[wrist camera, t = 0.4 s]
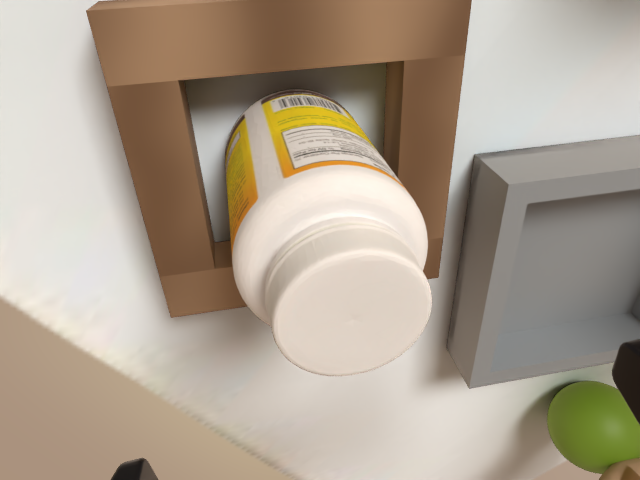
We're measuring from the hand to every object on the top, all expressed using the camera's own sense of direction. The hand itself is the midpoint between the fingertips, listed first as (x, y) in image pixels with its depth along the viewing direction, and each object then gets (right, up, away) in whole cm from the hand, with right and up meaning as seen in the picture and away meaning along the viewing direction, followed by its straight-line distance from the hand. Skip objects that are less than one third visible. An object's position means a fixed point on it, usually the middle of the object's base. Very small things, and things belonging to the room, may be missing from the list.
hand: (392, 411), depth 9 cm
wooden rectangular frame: (-2, +7, +11) cm, 13 cm away
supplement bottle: (-2, +7, +11) cm, 13 cm away
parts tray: (+12, +3, +17) cm, 21 cm away
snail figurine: (+15, -7, +24) cm, 29 cm away
